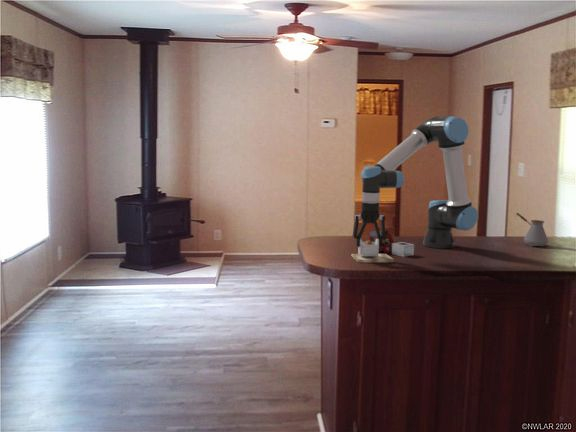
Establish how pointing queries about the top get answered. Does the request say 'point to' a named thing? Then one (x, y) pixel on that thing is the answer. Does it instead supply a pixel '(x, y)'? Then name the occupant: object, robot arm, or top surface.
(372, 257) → the keeper
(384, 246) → the toy fire truck
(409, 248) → the white block with hole
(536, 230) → the coffee pot
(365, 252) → the white square box
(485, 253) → the top surface
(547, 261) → the top surface
